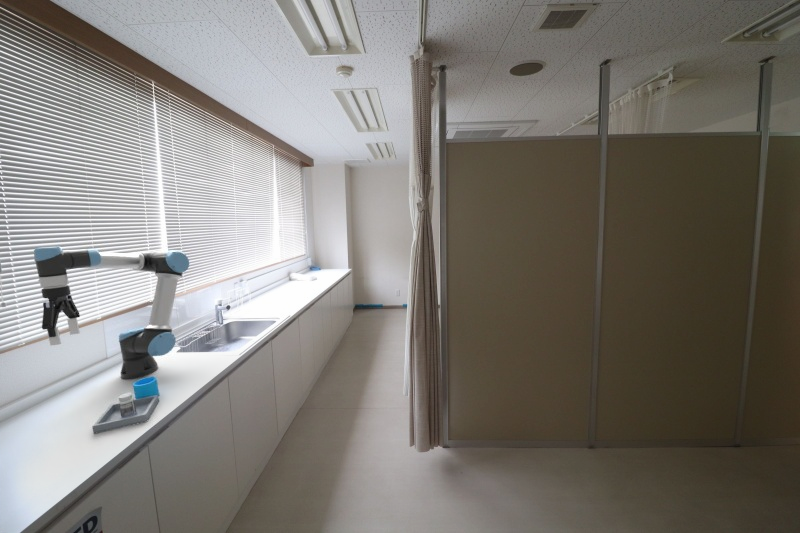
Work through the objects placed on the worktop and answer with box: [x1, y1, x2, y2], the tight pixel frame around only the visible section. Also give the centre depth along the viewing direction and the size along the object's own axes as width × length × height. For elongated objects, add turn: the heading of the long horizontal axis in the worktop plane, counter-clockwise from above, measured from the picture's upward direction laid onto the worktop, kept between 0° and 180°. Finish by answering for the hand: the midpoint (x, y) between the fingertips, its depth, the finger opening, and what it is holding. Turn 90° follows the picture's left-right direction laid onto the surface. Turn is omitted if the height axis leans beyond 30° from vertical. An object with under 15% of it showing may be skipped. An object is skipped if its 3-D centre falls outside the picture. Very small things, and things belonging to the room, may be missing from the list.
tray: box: [92, 395, 160, 435], centre depth 128 cm, size 16×16×3 cm
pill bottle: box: [118, 392, 136, 418], centre depth 127 cm, size 5×5×8 cm
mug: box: [132, 376, 160, 400], centre depth 142 cm, size 12×8×8 cm
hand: (65, 339), depth 128 cm, fingers open, 13 cm apart
